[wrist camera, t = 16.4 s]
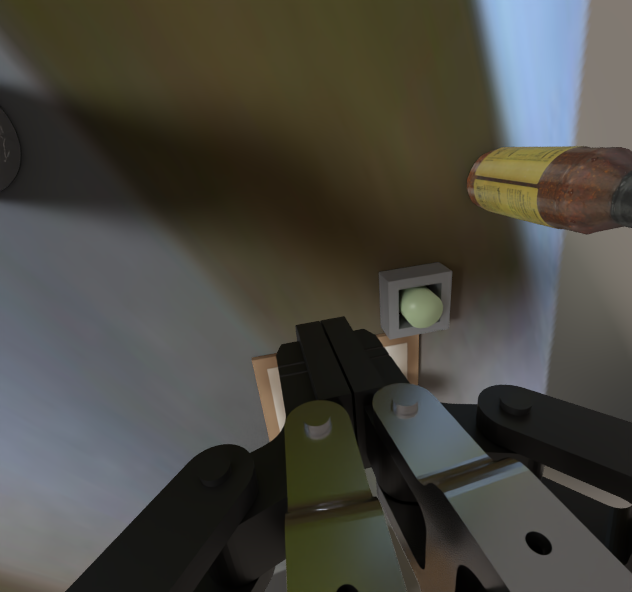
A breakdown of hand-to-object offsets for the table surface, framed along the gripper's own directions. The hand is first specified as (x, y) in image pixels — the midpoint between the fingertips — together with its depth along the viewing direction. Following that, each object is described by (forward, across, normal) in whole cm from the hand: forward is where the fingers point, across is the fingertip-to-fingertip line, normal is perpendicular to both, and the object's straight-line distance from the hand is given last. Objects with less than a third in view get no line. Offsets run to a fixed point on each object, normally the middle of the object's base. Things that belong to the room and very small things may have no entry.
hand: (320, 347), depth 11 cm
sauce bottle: (+26, -24, 0) cm, 35 cm away
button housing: (+26, -15, +12) cm, 32 cm away
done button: (+26, -15, +12) cm, 32 cm away
